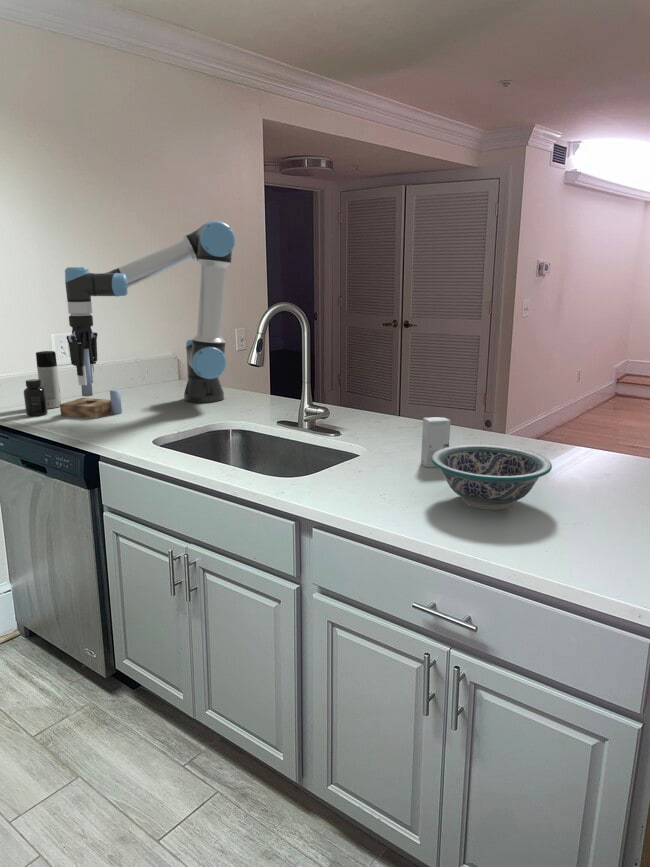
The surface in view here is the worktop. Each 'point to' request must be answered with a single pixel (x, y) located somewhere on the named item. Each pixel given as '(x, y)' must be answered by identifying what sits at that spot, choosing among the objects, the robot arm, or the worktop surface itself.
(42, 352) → the spray can
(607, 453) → the worktop surface
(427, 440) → the skincare box
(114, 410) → the short dowel
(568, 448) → the worktop surface
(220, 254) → the robot arm
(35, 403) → the supplement bottle
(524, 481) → the bowl
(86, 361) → the long dowel
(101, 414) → the collar block
